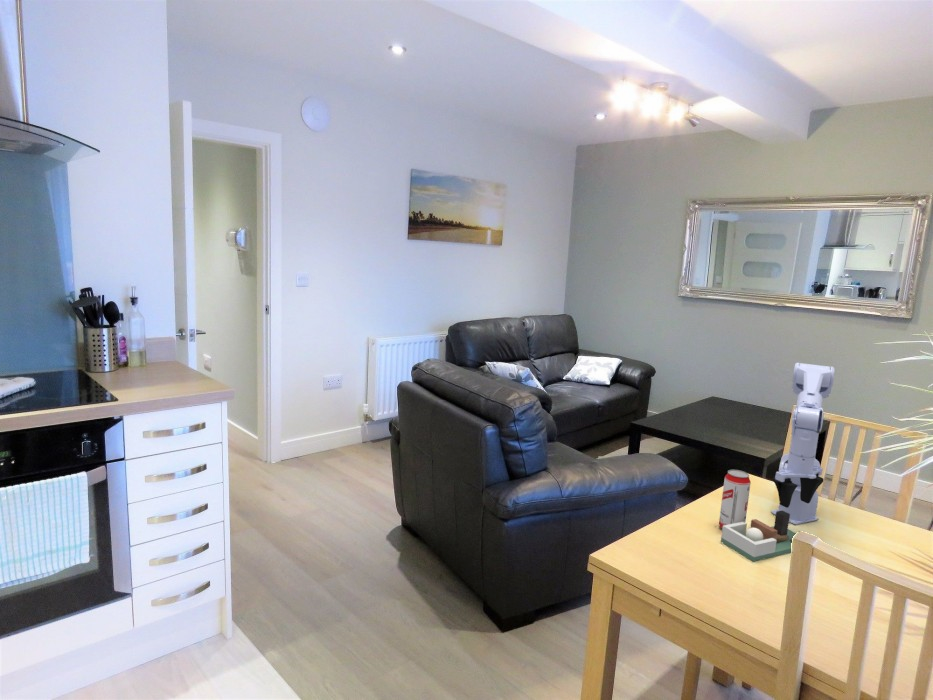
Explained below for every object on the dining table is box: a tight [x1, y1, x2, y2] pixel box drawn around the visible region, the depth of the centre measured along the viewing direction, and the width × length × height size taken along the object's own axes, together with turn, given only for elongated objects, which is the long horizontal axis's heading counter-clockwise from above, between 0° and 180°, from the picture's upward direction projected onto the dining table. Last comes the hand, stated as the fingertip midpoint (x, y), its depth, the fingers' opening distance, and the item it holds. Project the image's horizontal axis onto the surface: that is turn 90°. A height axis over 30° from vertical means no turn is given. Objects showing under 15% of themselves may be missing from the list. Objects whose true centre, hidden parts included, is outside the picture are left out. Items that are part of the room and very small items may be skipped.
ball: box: [746, 527, 763, 542], centre depth 144 cm, size 4×4×4 cm
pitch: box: [720, 521, 796, 562], centre depth 146 cm, size 21×10×4 cm, turn 113°
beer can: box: [718, 469, 752, 529], centre depth 152 cm, size 6×6×16 cm
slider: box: [749, 510, 790, 542], centre depth 146 cm, size 8×6×6 cm
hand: (794, 503), depth 147 cm, fingers open, 7 cm apart
